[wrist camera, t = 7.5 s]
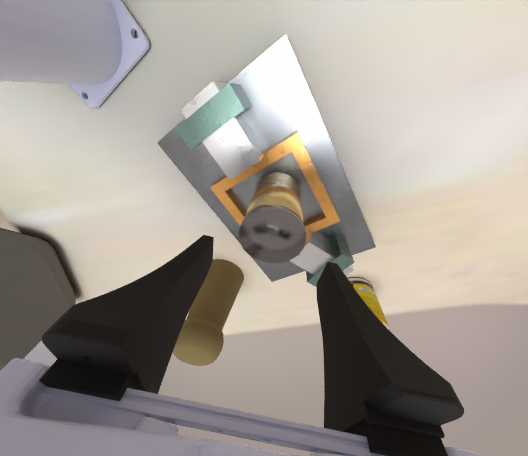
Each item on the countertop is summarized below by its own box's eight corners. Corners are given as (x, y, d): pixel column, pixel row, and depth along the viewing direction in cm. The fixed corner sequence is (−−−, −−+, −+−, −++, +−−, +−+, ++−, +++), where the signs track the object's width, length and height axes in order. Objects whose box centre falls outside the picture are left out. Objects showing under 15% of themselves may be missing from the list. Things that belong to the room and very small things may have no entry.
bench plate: (163, 139, 19) (131, 151, 15) (285, 35, 14) (283, 15, 10) (273, 276, 28) (271, 305, 24) (373, 242, 23) (389, 272, 19)
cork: (247, 265, 27) (225, 353, 18) (240, 292, 31) (218, 378, 21) (203, 254, 27) (158, 337, 18) (201, 283, 30) (162, 365, 21)
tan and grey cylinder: (249, 208, 21) (233, 253, 15) (260, 165, 18) (245, 200, 12) (292, 220, 21) (292, 269, 15) (309, 179, 18) (317, 220, 13)
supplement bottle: (347, 271, 26) (368, 338, 19) (379, 283, 26) (411, 352, 19) (328, 293, 28) (339, 358, 21) (357, 303, 29) (378, 370, 22)
